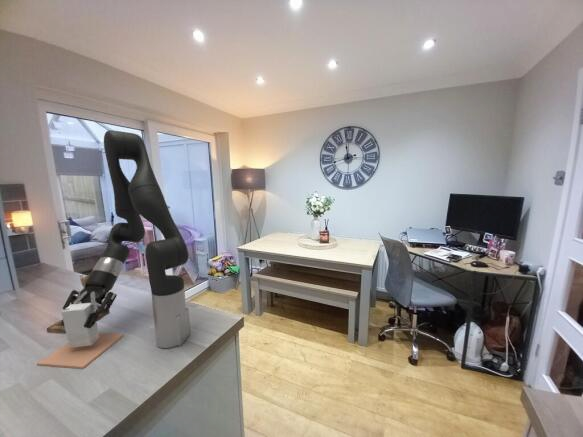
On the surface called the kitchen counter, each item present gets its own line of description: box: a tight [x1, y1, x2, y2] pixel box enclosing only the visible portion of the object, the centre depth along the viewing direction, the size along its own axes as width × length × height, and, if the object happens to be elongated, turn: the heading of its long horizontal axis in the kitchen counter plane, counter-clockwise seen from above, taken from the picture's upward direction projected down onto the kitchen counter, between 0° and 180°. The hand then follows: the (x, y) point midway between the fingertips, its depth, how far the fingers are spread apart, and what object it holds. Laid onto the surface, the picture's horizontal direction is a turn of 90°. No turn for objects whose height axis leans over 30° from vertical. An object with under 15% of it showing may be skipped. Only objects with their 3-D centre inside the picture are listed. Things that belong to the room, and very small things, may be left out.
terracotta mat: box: [36, 332, 125, 370], centre depth 72 cm, size 14×14×1 cm
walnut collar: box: [46, 310, 110, 334], centre depth 86 cm, size 11×13×2 cm
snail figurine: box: [79, 274, 90, 291], centre depth 102 cm, size 5×6×12 cm
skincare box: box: [61, 303, 100, 348], centre depth 71 cm, size 6×4×12 cm
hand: (75, 326), depth 69 cm, fingers closed on skincare box, 6 cm apart
